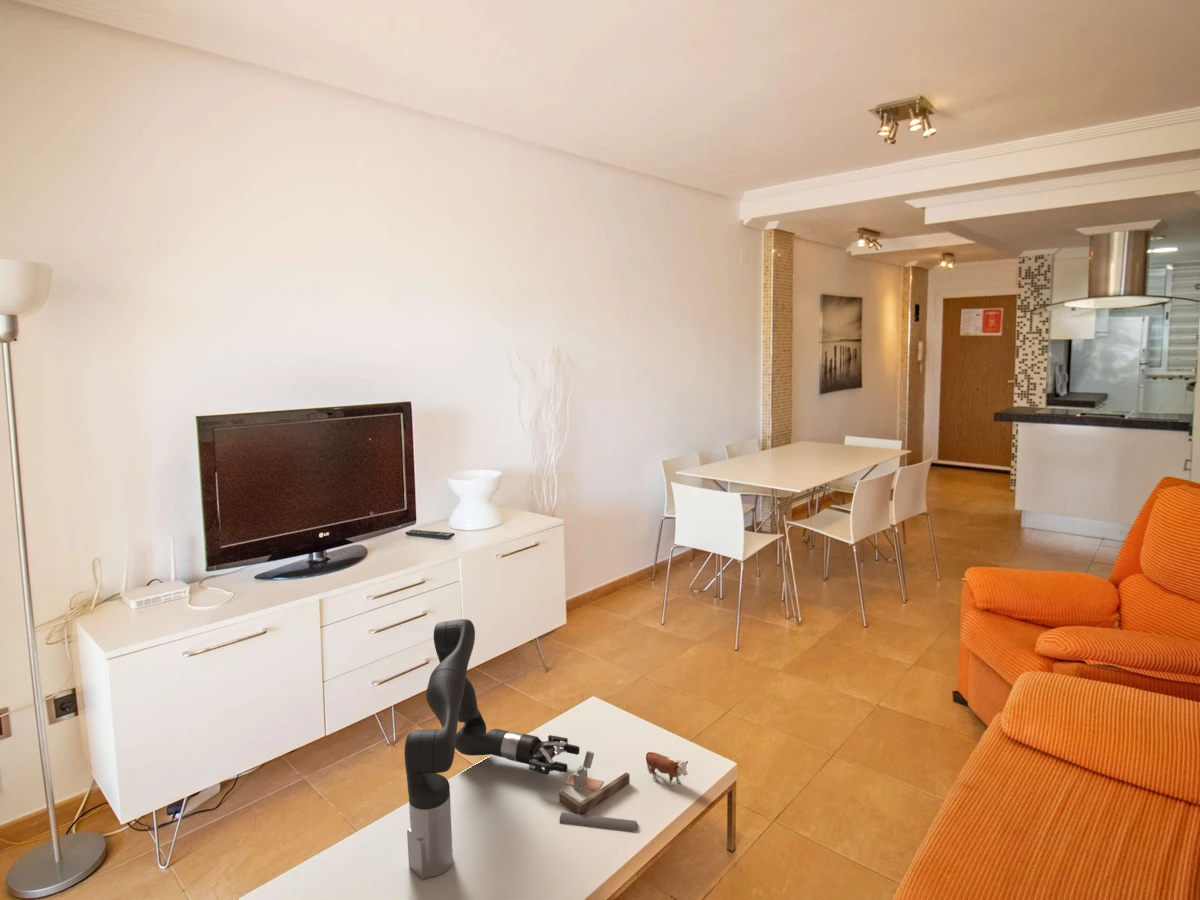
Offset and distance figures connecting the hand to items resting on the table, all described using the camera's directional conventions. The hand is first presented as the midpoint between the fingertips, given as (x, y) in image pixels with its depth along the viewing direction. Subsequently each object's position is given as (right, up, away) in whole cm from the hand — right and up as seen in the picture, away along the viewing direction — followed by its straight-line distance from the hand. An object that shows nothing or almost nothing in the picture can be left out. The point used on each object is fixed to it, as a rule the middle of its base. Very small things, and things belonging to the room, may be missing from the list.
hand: (573, 759), depth 191 cm
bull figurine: (+26, -7, 0) cm, 27 cm away
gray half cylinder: (+7, -10, -16) cm, 20 cm away
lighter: (+3, -6, 0) cm, 7 cm away
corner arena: (+6, -7, -4) cm, 10 cm away
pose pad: (+3, -6, 0) cm, 7 cm away
